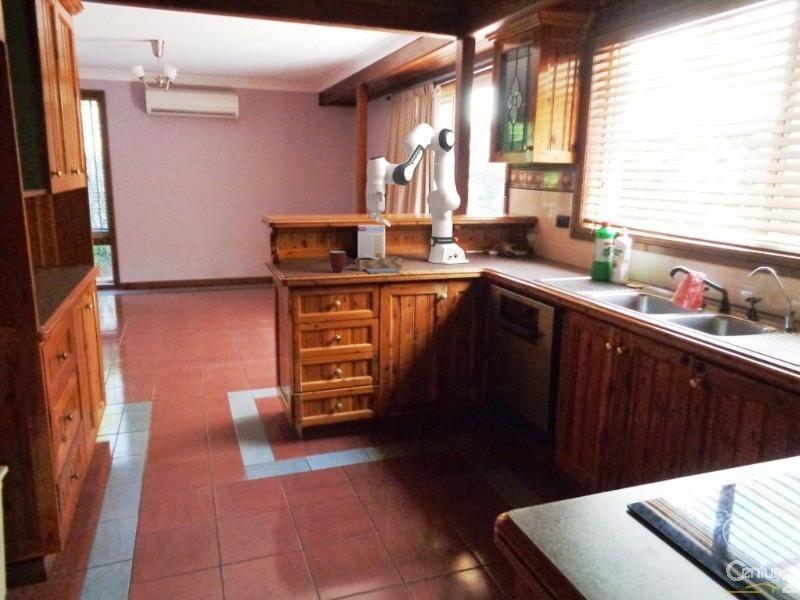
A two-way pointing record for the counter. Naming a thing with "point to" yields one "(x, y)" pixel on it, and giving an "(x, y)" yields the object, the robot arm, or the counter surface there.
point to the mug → (338, 260)
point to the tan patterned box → (378, 263)
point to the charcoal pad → (382, 270)
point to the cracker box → (371, 240)
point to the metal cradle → (370, 256)
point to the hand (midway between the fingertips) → (375, 220)
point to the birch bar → (381, 220)
